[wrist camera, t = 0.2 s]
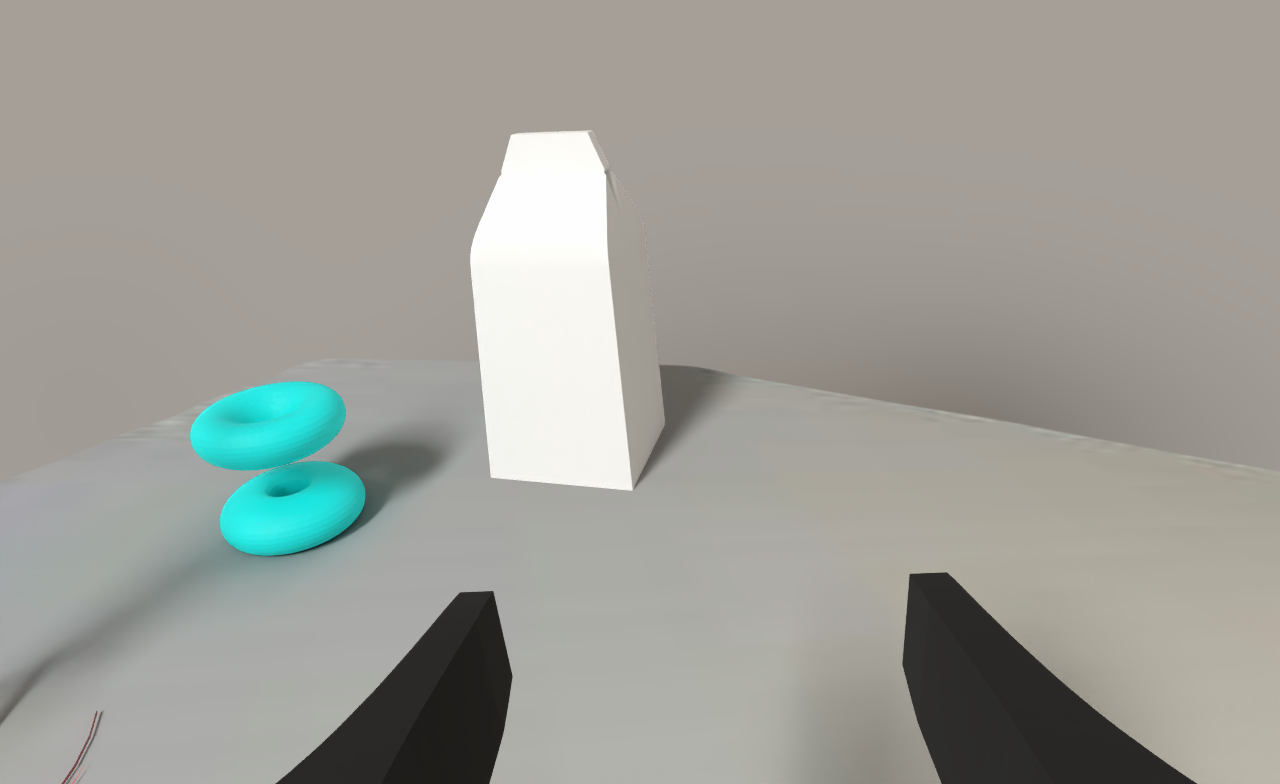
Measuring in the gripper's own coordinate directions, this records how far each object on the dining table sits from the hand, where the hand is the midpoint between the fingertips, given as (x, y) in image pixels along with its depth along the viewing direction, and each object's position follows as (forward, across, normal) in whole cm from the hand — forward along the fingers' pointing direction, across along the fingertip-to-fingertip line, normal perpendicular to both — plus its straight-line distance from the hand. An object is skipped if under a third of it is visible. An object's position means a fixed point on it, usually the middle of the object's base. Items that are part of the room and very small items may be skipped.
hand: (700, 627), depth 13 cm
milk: (+45, +10, +22) cm, 52 cm away
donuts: (+35, +30, +21) cm, 51 cm away
